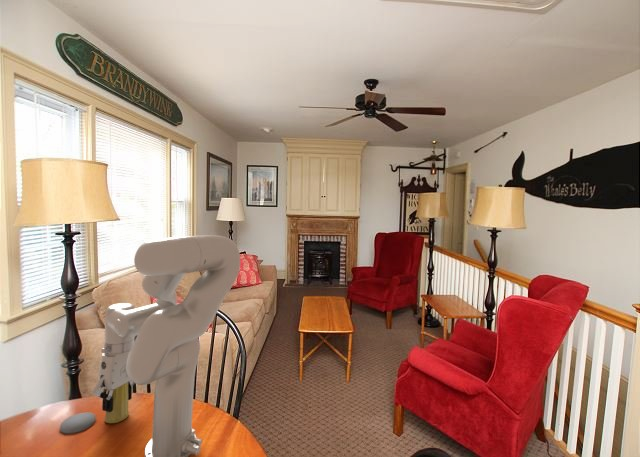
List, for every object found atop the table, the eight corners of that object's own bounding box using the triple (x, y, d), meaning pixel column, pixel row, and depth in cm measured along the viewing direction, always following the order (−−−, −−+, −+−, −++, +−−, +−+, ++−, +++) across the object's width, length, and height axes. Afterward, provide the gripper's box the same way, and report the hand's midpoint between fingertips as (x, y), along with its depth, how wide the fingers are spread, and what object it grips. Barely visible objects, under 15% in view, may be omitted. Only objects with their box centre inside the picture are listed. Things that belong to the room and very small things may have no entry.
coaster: (101, 418, 91) (102, 416, 91) (73, 436, 84) (74, 433, 84) (82, 412, 94) (82, 409, 94) (52, 429, 86) (53, 426, 86)
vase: (133, 411, 95) (135, 366, 95) (118, 425, 89) (120, 376, 88) (115, 409, 96) (116, 364, 95) (99, 422, 90) (100, 374, 89)
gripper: (101, 360, 82) (99, 425, 83) (152, 337, 99) (150, 392, 99) (80, 355, 84) (78, 419, 85) (134, 333, 101) (132, 387, 101)
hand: (117, 404), depth 92 cm, fingers closed on vase, 5 cm apart
